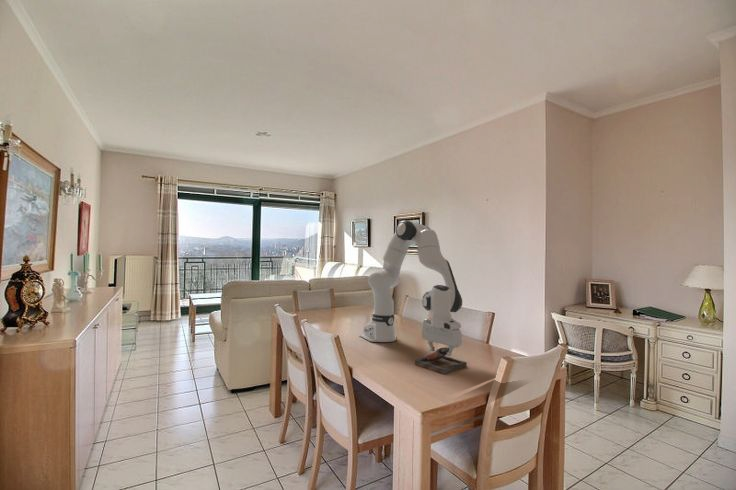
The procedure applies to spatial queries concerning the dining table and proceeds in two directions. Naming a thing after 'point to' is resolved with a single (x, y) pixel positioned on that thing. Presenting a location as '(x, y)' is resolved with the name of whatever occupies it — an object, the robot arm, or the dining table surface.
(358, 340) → the dining table surface
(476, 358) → the dining table surface
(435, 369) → the dark brown tray
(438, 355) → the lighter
